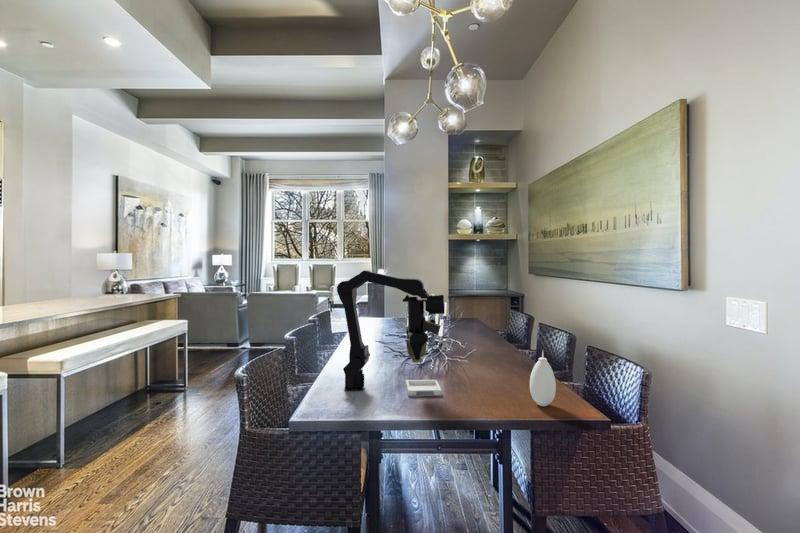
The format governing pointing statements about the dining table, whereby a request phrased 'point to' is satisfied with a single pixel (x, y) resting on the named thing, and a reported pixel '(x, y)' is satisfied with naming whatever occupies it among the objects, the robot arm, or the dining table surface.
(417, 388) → the white tray
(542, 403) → the air blower bulb
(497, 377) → the dining table surface
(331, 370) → the dining table surface
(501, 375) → the dining table surface
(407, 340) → the brown hollow flared piece
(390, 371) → the dining table surface
